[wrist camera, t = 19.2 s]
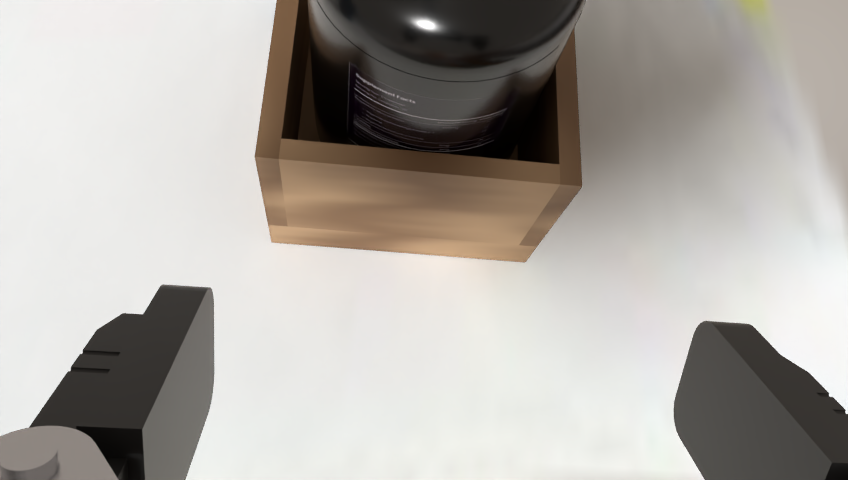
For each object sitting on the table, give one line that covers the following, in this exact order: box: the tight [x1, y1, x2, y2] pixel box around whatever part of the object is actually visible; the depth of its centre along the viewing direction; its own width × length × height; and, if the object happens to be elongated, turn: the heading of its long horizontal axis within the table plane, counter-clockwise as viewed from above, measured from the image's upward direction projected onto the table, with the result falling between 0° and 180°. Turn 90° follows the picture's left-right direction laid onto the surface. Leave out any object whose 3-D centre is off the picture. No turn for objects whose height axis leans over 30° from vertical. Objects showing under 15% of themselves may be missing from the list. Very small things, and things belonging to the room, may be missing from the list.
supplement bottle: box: [308, 0, 586, 160], centre depth 19 cm, size 7×7×12 cm
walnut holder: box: [255, 0, 582, 262], centre depth 23 cm, size 9×9×6 cm
